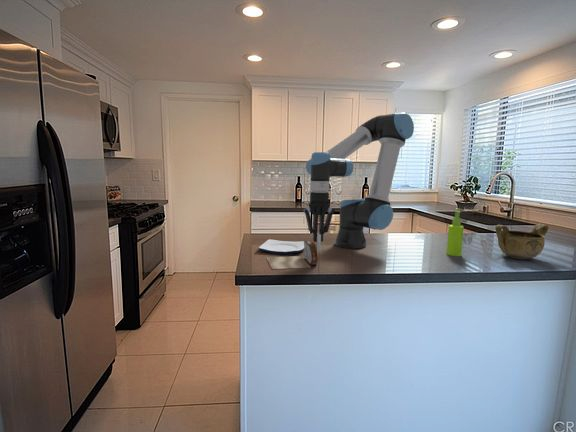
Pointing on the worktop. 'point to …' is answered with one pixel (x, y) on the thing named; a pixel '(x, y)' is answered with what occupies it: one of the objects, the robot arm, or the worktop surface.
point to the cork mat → (287, 262)
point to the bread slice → (310, 252)
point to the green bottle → (455, 236)
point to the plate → (282, 247)
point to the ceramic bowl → (521, 241)
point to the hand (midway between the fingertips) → (317, 249)
